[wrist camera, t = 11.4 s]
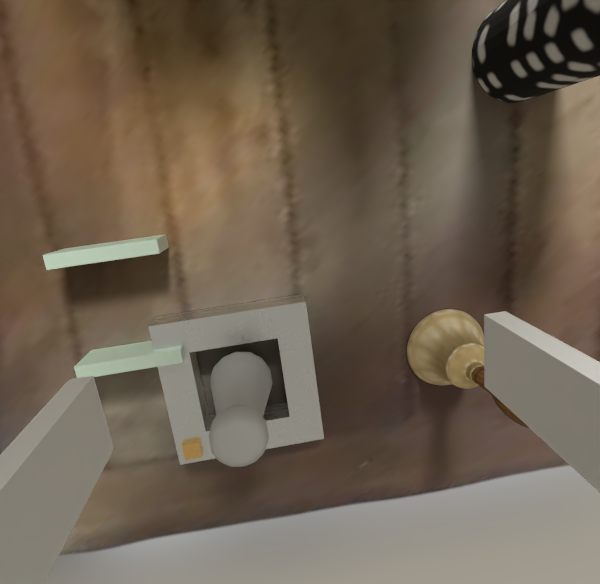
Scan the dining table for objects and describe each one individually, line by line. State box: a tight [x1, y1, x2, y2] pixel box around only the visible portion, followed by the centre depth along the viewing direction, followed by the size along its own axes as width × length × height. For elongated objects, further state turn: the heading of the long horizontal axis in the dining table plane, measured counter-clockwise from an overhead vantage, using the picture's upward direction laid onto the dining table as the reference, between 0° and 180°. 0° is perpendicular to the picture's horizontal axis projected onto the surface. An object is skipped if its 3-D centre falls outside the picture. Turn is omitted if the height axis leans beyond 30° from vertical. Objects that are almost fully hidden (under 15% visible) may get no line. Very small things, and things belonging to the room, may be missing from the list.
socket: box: [148, 294, 324, 465], centre depth 41 cm, size 14×14×4 cm
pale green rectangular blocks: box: [43, 234, 185, 378], centre depth 38 cm, size 11×9×4 cm
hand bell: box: [407, 309, 529, 428], centre depth 37 cm, size 8×8×16 cm
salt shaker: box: [209, 351, 273, 467], centre depth 36 cm, size 6×6×13 cm
